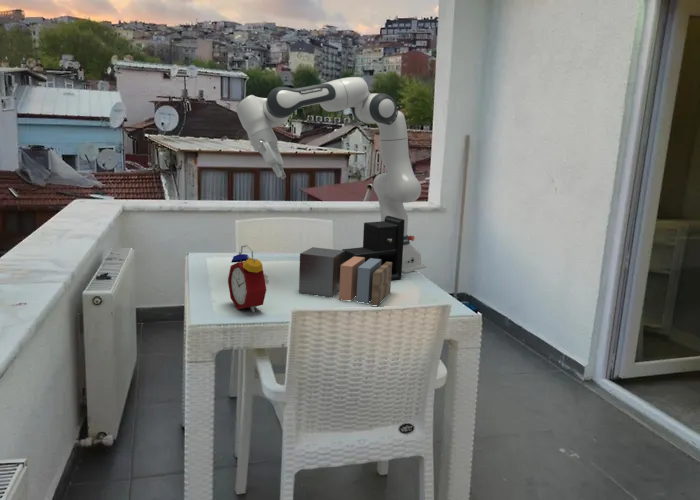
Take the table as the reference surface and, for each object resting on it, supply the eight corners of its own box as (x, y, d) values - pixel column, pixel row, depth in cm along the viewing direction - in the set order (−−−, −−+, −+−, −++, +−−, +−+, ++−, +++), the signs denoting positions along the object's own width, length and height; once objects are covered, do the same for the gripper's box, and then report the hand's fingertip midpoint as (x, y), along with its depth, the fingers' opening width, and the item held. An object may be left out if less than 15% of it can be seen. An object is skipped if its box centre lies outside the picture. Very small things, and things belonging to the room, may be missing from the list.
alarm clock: (227, 303, 179) (227, 241, 175) (252, 299, 184) (252, 239, 180) (247, 316, 167) (247, 250, 163) (273, 312, 172) (274, 248, 168)
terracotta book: (352, 289, 202) (354, 256, 199) (363, 290, 201) (364, 257, 198) (339, 300, 188) (340, 265, 185) (350, 302, 187) (352, 266, 184)
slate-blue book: (368, 291, 200) (370, 258, 198) (379, 292, 199) (381, 259, 196) (356, 302, 186) (358, 267, 184) (368, 304, 185) (369, 268, 182)
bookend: (351, 286, 205) (354, 222, 200) (335, 279, 214) (338, 217, 209) (402, 280, 218) (406, 219, 213) (385, 273, 226) (388, 215, 222)
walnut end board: (384, 291, 200) (386, 261, 198) (390, 292, 199) (392, 262, 197) (371, 305, 183) (373, 273, 181) (377, 306, 182) (379, 273, 180)
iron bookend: (311, 285, 205) (312, 247, 202) (343, 289, 201) (344, 250, 198) (298, 293, 193) (299, 253, 190) (331, 298, 190) (333, 257, 187)
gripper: (267, 133, 186) (286, 171, 187) (276, 140, 207) (293, 175, 208) (250, 142, 187) (269, 179, 188) (261, 148, 207) (278, 182, 208)
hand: (282, 177), depth 198 cm, fingers open, 8 cm apart
